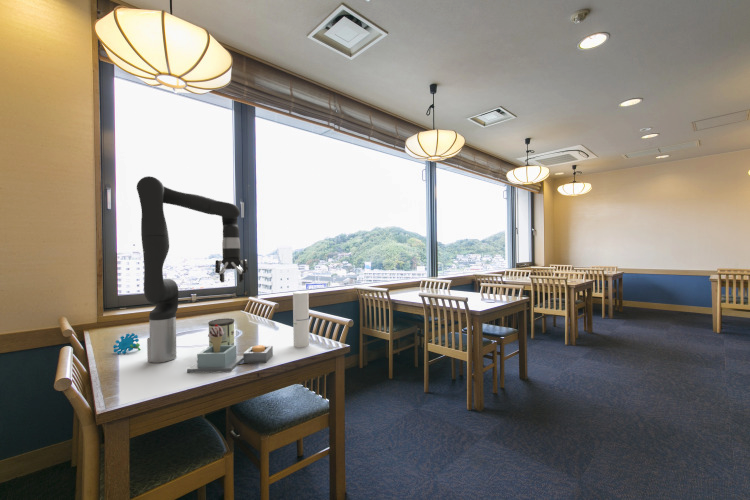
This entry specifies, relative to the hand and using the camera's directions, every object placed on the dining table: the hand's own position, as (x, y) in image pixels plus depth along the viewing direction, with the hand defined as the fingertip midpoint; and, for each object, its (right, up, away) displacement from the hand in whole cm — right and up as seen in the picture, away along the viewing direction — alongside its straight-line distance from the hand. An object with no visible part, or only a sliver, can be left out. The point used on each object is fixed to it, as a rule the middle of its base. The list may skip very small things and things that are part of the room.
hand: (231, 282), depth 150 cm
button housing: (+19, -30, -17) cm, 39 cm away
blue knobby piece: (-44, -31, -6) cm, 54 cm away
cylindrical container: (+32, -30, +1) cm, 44 cm away
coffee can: (-1, -31, -9) cm, 32 cm away
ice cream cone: (+5, -29, -23) cm, 38 cm away
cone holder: (+5, -30, -23) cm, 39 cm away
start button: (+19, -28, -17) cm, 38 cm away
